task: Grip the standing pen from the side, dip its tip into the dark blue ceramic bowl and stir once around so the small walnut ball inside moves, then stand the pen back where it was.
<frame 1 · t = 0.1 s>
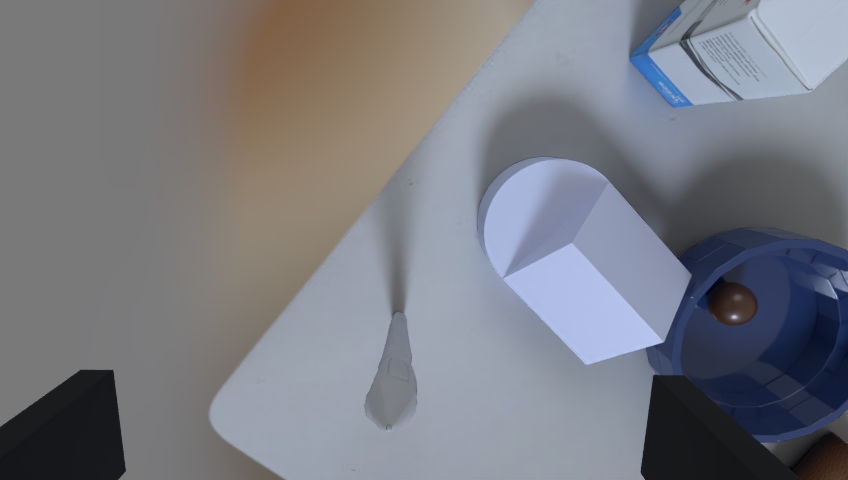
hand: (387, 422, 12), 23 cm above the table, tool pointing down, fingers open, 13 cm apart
ink box: (696, 36, 32), on the table
wedge on round base: (558, 241, 35), on the table
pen: (398, 315, 36), on the table
bowl: (735, 320, 36), on the table
ball: (731, 303, 33), point 2 cm above the table, touching bowl
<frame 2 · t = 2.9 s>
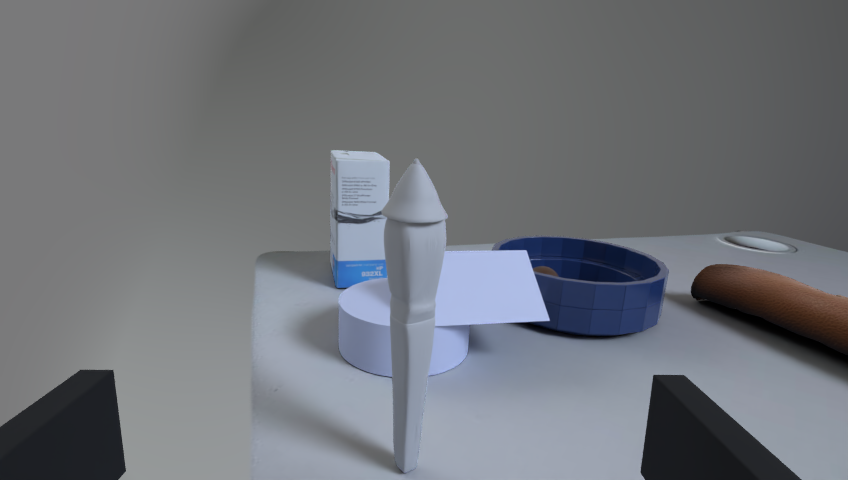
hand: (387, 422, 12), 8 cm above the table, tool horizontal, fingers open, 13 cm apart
sunglasses case: (819, 341, 38), on the table
ink box: (356, 275, 48), on the table
wedge on round base: (431, 344, 35), on the table
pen: (404, 470, 22), on the table
bowl: (569, 305, 43), on the table
ball: (542, 283, 42), point 2 cm above the table, touching bowl
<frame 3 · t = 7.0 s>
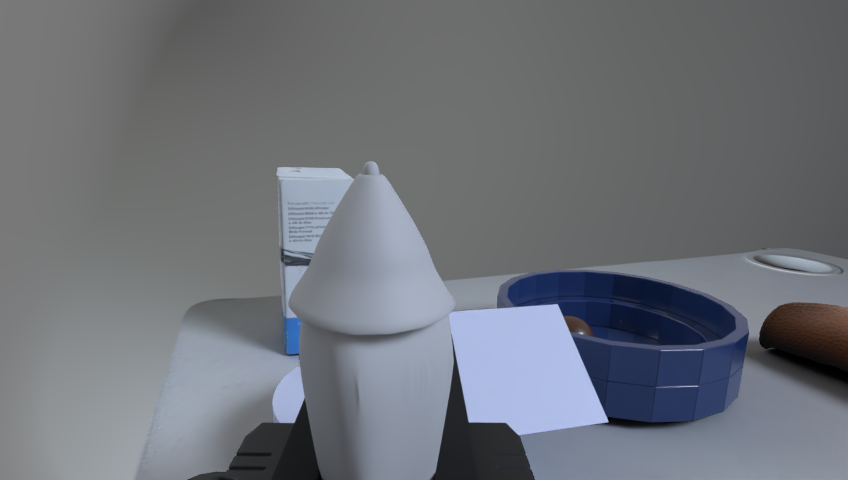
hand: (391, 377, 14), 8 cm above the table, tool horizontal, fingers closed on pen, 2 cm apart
ink box: (317, 331, 36), on the table
wedge on round base: (421, 453, 23), on the table
bowl: (605, 366, 31), on the table
ball: (569, 340, 30), point 2 cm above the table, touching bowl
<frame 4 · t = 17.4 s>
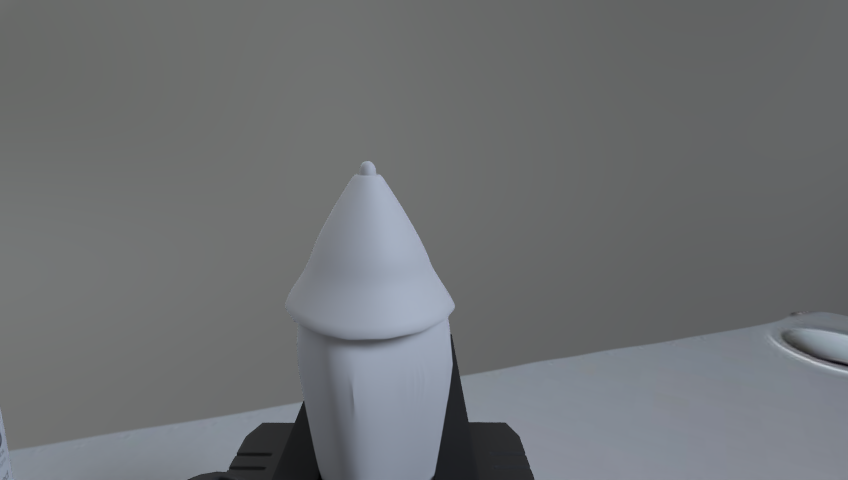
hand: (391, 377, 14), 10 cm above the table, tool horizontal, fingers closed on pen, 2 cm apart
when the fingers open (7 cm above the table, at t = 26.9 s): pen stays where it is, on the table.
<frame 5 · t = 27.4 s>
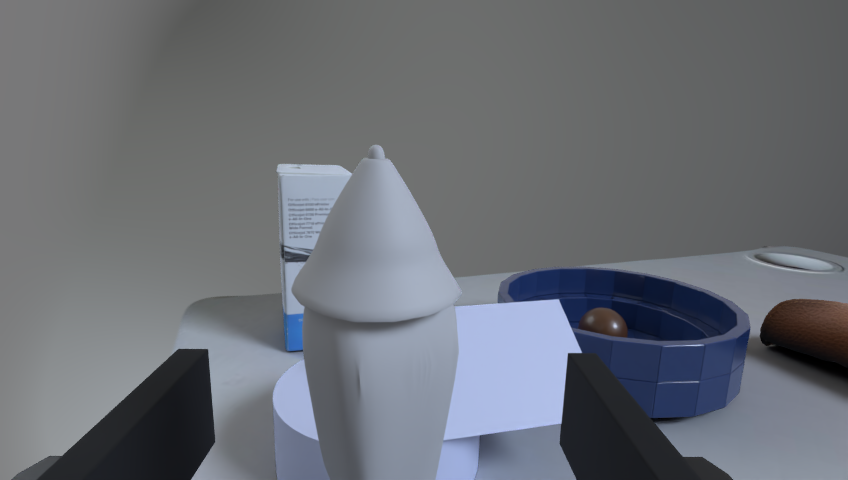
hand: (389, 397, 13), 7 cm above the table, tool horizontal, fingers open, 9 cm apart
ink box: (317, 328, 36), on the table
wedge on round base: (421, 448, 23), on the table
bowl: (606, 363, 31), on the table
ball: (602, 330, 31), point 2 cm above the table, tilted 88°, touching bowl
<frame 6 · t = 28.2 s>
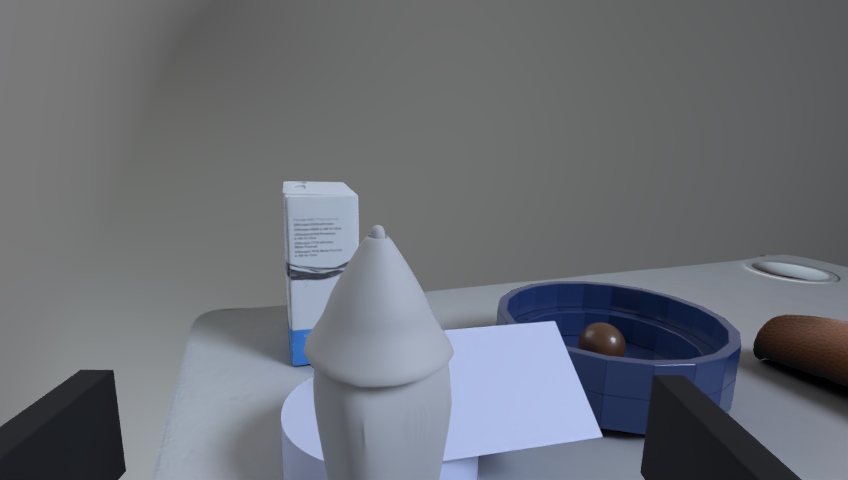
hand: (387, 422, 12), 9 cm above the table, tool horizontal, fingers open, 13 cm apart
ink box: (321, 341, 37), on the table
wedge on round base: (423, 464, 24), on the table
bowl: (603, 377, 32), on the table
ball: (601, 345, 32), point 2 cm above the table, tilted 99°, touching bowl
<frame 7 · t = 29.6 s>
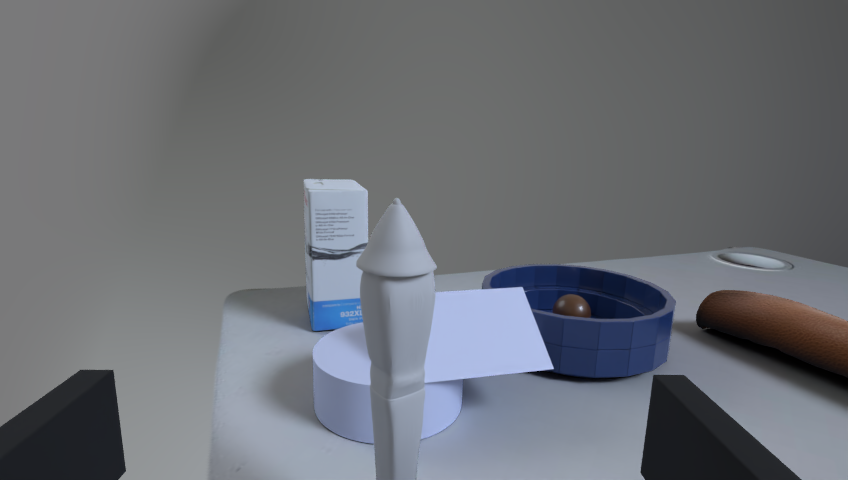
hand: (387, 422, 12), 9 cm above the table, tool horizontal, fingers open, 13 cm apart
sunglasses case: (839, 372, 35), on the table
ink box: (335, 314, 44), on the table
wedge on round base: (420, 398, 31), on the table
bowl: (569, 341, 39), on the table
ball: (571, 312, 40), point 2 cm above the table, tilted 118°, touching bowl
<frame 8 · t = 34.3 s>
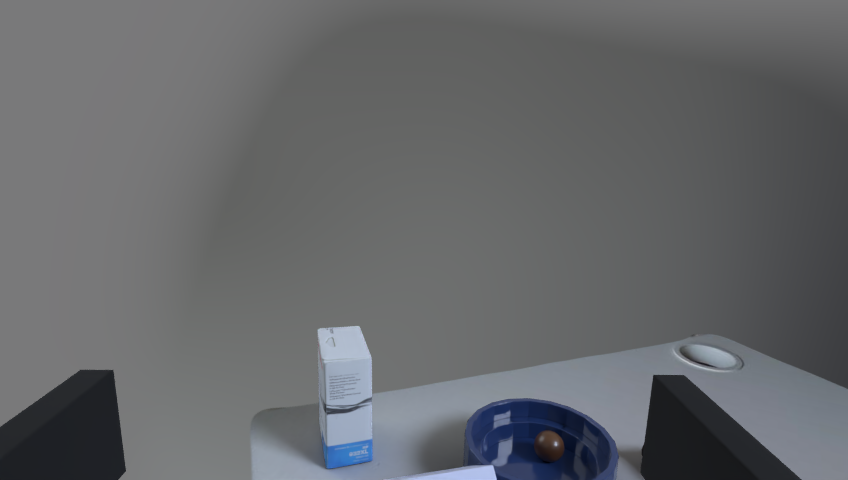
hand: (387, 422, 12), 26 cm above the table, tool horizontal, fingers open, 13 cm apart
ink box: (344, 443, 53), on the table
bowl: (535, 477, 48), on the table
ball: (549, 446, 50), point 2 cm above the table, tilted 153°, touching bowl
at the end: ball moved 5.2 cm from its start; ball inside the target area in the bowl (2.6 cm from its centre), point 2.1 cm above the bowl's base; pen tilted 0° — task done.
